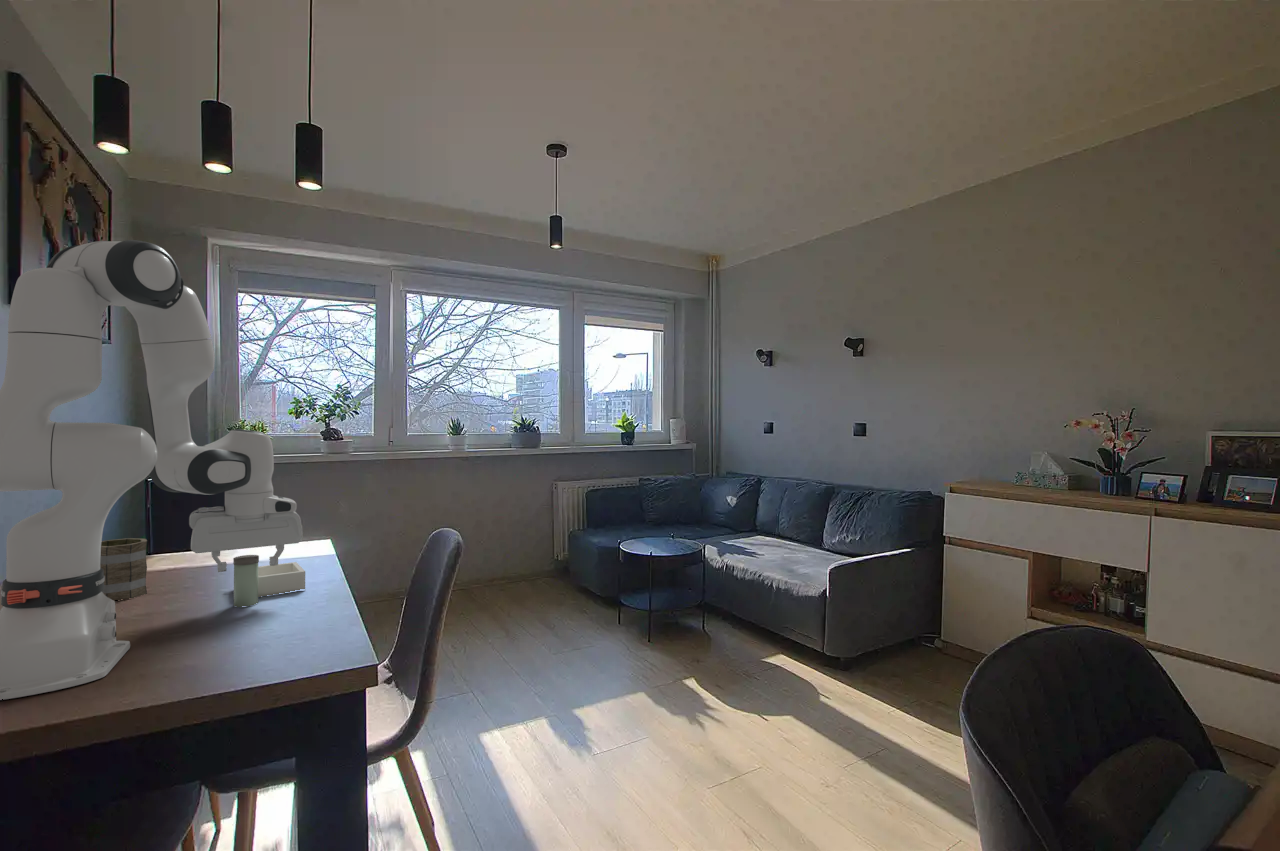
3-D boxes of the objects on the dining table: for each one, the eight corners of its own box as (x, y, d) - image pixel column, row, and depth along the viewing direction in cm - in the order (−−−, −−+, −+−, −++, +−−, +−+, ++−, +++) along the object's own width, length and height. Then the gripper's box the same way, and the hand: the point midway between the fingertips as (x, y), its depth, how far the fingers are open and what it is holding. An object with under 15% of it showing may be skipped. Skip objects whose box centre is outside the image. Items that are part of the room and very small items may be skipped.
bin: (305, 591, 141) (305, 571, 141) (243, 600, 133) (244, 579, 133) (296, 580, 150) (296, 561, 150) (238, 588, 142) (238, 568, 142)
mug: (158, 592, 138) (159, 540, 138) (100, 605, 129) (101, 549, 129) (121, 584, 145) (121, 534, 145) (63, 596, 135) (63, 542, 135)
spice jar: (259, 605, 130) (260, 557, 130) (234, 609, 127) (234, 560, 127) (257, 600, 133) (257, 553, 133) (232, 603, 130) (232, 556, 130)
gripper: (189, 510, 121) (189, 578, 122) (304, 503, 134) (303, 564, 134) (188, 506, 126) (187, 571, 126) (299, 499, 139) (298, 558, 139)
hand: (248, 568), depth 131 cm, fingers open, 8 cm apart
